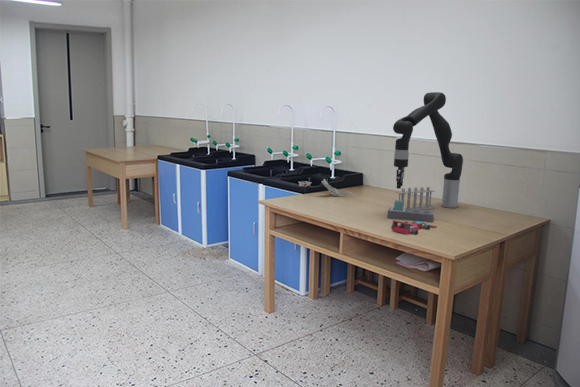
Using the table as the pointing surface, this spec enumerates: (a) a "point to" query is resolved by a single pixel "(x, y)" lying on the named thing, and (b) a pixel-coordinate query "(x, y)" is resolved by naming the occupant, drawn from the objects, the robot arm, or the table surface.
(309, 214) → the table surface
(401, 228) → the race car
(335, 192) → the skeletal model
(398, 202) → the block
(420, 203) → the test tube rack
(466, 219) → the table surface
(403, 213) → the power strip
